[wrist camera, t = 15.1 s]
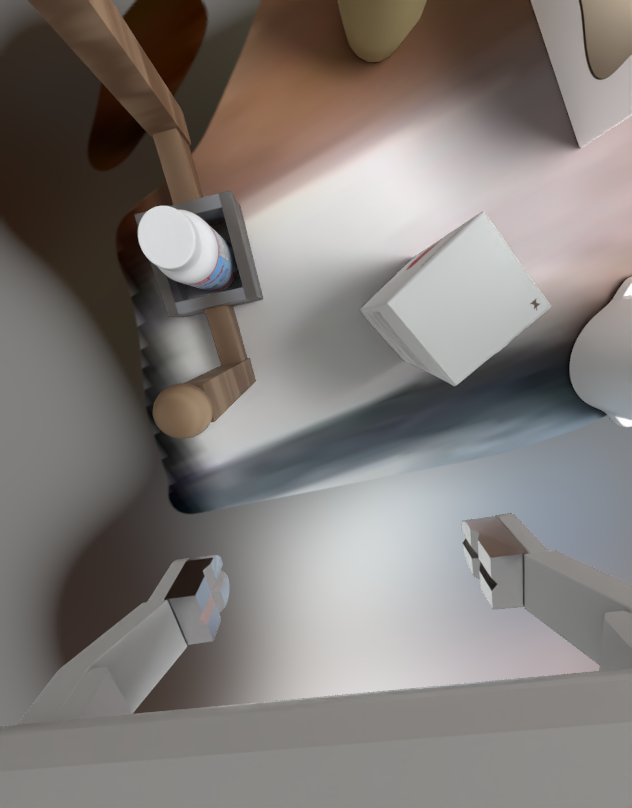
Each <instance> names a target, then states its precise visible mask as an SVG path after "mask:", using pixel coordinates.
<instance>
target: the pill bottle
mask: <svg viewBox="0 0 632 808" xmlns="http://www.w3.org/2000/svg"><path fill="white" fill-rule="evenodd" d="M138 240H139V244H140V247H141V249H142V251H143V253H144V254H145V256H146V257H147V258H148V259H149V260H150V261H151V262H152V263H154V264H155V265H157V266H158V268H159V269H160V270H161V271H162V272H163V273H164V274H165V275H166V276H168V277H169V278H171V279H172V280H175V281H177V282H180V283H183V284H186V285H190V286H193V287H196V288H200V289H203V290H206V291H220V290H223V289H225V288H227V287H228V286H229V285H230V284H231V283H232V282H233V280H234V279H235V276H236V273H237V263H236V259H235V255H234V251H233V249H232V248H231V246H230V245H229V244H228V242H227V241H226V240H225V239H223V238H222V237H221V236H220V235H219V234H218V233H217V232H216V231H215V230H214V229H213V228H212V227H210V226H209V225H208V224H207V223H206V222H205V221H204V220H203V219H202V218H200V217H199V216H197V215H196V214H194V213H192V212H189V211H186V210H177V209H175V208H173V207H169V206H156V207H154V208H152V209H150V210H149V211H147V212H146V213H145V214H144V215H143V217H142V219H141V221H140V223H139V227H138Z"/></svg>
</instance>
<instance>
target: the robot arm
mask: <svg viewBox="0 0 632 808" xmlns="http://www.w3.org/2000/svg"><path fill="white" fill-rule="evenodd" d="M569 369H570V379H571V382H572V385H573V388H574V390H575V391H576V393H577V394H578V396H579V397H580V398H581V399H582V400H583V401H584V402H586V403H587V404H589V405H591V406H593V407H595V408H597V409H600V410H602V411H604V412H605V413H606V414H607V415H608V417H609V418H610V419H611V420H612V422H614V423H615V424H616V425H620V426H624V427H630V426H632V276H631V277H629V278H627V279H626V280H625V281H624V282H623V284H622V285H621V286H620V288H619V289H618V291H617V292H616V294H615V296H614V297H613V299H612V301H611V302H610V303H609V304H608V305H607V306H606V307H604V308H603V309H602V310H601V311H600V312H598V313H597V314H596V315H595V316H594V317H593V318H592V319H591V320H590V321H589V322H588V323H587V325H586V326H585V327H584V329H583V330H582V332H581V333H580V335H579V336H578V338H577V340H576V342H575V345H574V347H573V350H572V354H571V358H570V367H569ZM461 526H462V533H463V534H464V536H465V537H466V539H465V540H464V542H463V551H464V555H465V559H466V562H467V564H468V567H469V569H470V570H471V573H472V574H473V575H474V576H475V577H476V578H478V579H479V580H480V587H481V590H482V592H483V594H484V595H485V597H486V599H487V601H488V602H489V604H490V606H491V607H492V609H505V608H517V607H525V609H526V610H527V611H528V612H530V613H531V614H533V615H534V616H535V617H536V618H538V619H539V620H540V621H542V622H543V623H544V624H546V625H547V626H548V627H550V628H551V629H552V630H554V631H555V632H556V633H558V634H559V635H560V636H562V637H563V638H565V639H566V640H567V641H568V642H570V643H571V644H572V645H573V646H575V647H576V648H577V649H579V650H580V651H582V652H583V653H584V654H585V655H587V656H588V657H589V658H591V659H592V660H593V661H595V662H596V663H597V664H599V665H600V668H599V671H593V672H582V673H572V674H561V675H550V676H539V677H528V678H518V679H508V680H507V679H506V680H496V681H485V682H475V683H464V684H455V685H454V684H453V685H442V686H433V687H421V688H410V689H400V690H391V691H390V690H389V691H379V692H368V693H357V694H346V695H335V696H325V697H313V698H302V699H291V700H282V701H281V700H280V701H270V702H259V703H249V704H237V705H226V706H216V707H205V708H194V709H184V710H172V711H162V712H151V713H140V714H133V712H134V711H135V710H136V709H137V707H138V706H139V705H140V704H141V702H142V701H143V700H144V699H145V697H146V696H147V695H148V694H149V693H150V692H151V690H152V689H153V688H154V687H155V685H156V684H157V683H158V682H159V681H160V679H161V678H162V677H163V675H164V674H165V673H166V672H167V671H168V670H169V668H170V667H171V666H172V664H173V663H174V662H175V661H176V660H177V659H178V657H179V656H180V655H181V654H182V652H183V651H184V650H185V649H186V648H187V645H190V644H197V643H204V642H210V641H214V638H215V635H216V632H217V630H218V627H219V624H220V621H221V618H220V615H219V613H220V612H221V611H222V609H223V608H224V607H225V606H226V604H227V600H228V597H229V580H228V577H227V574H226V573H224V572H223V571H221V568H222V565H223V563H222V560H221V558H220V556H218V555H213V556H204V557H195V558H189V559H180V560H176V561H174V562H173V563H172V564H171V566H170V567H169V569H168V570H167V572H166V574H165V575H164V577H163V578H162V580H161V581H160V583H159V585H158V586H157V588H156V589H155V591H154V592H153V594H152V596H151V597H150V599H149V600H148V602H147V603H142V604H141V605H140V606H138V607H137V608H136V609H135V610H133V611H132V612H131V613H130V614H128V615H127V616H126V617H124V618H123V619H122V620H121V621H119V622H118V623H117V624H116V625H115V626H113V627H112V628H111V629H110V630H108V631H107V632H106V633H105V634H103V635H102V636H101V637H99V638H98V639H97V640H96V641H94V642H93V643H92V644H91V645H89V646H88V647H87V648H86V649H85V650H83V651H82V652H81V653H79V654H78V655H77V656H76V657H74V658H73V659H72V660H71V661H69V662H68V663H67V664H66V665H64V666H63V667H62V668H61V669H59V670H58V671H57V673H56V674H55V675H54V676H53V678H52V679H51V680H50V682H49V683H48V684H47V686H46V687H45V688H44V690H43V691H42V692H41V694H40V695H39V696H38V697H37V699H36V700H35V701H34V703H33V704H32V705H31V707H30V708H29V709H28V711H27V712H26V713H25V714H24V716H23V717H22V719H21V720H20V721H19V722H18V724H17V725H11V726H1V727H0V808H632V585H631V584H629V583H626V582H624V581H622V580H620V579H617V578H615V577H613V576H611V575H609V574H606V573H604V572H602V571H600V570H598V569H595V568H593V567H591V566H589V565H587V564H584V563H582V562H580V561H578V560H575V559H573V558H571V557H569V556H566V555H564V554H562V553H560V552H558V551H549V550H548V549H547V548H546V546H544V545H543V543H542V542H541V541H540V540H539V539H538V538H537V537H536V536H535V535H534V534H533V533H532V532H531V531H530V530H529V529H528V528H527V527H526V526H525V525H524V524H523V523H522V522H521V521H520V520H519V519H518V518H517V517H516V516H515V515H514V514H512V513H508V514H502V515H496V516H492V517H485V518H479V519H471V520H465V521H462V524H461Z"/></svg>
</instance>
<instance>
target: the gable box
mask: <svg viewBox="0 0 632 808" xmlns="http://www.w3.org/2000/svg"><path fill="white" fill-rule="evenodd" d="M531 3H532V6H533V9H534V12H535V15H536V18H537V21H538V24H539V27H540V30H541V33H542V37H543V40H544V43H545V46H546V49H547V52H548V55H549V58H550V61H551V64H552V67H553V70H554V73H555V76H556V79H557V82H558V85H559V88H560V91H561V94H562V97H563V100H564V103H565V106H566V109H567V112H568V115H569V118H570V121H571V124H572V127H573V130H574V133H575V136H576V139H577V142H578V145H579V147H581V148H583V147H584V146H586V145H587V144H589V143H590V142H592V141H593V140H595V139H596V138H598V137H599V136H601V135H602V134H604V133H606V132H607V131H609V130H610V129H612V128H613V127H615V126H616V125H618V124H619V123H621V122H622V121H624V120H625V119H627V118H629V117H630V116H632V0H531Z"/></svg>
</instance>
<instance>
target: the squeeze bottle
mask: <svg viewBox="0 0 632 808" xmlns="http://www.w3.org/2000/svg"><path fill="white" fill-rule="evenodd" d="M426 2H427V0H337V3H338V6H339V10H340V14H341V18H342V22H343V26H344V29H345V33H346V36H347V40H348V43H349V46H350V47H351V49H352V50H353V51H354V53H355V54H356V55H357V56H358V57H360V58H361V59H363V60H365V61H367V62H380V61H382V60H384V59H386V58H388V57H390V56H391V55H392V54H393V52H394V51H395V50H396V49H397V48H398V46H399V45H400V44H401V43H402V41H403V40H404V39H405V38H406V36H407V35H408V34H409V32H410V31H411V30H412V29H413V27H414V26H415V25H416V23H417V22H418V21H419V20H420V17H421V15H422V12H423V10H424V7H425V4H426Z"/></svg>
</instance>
